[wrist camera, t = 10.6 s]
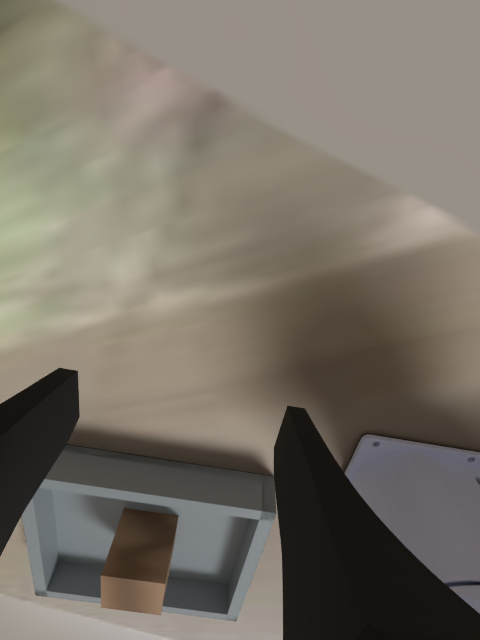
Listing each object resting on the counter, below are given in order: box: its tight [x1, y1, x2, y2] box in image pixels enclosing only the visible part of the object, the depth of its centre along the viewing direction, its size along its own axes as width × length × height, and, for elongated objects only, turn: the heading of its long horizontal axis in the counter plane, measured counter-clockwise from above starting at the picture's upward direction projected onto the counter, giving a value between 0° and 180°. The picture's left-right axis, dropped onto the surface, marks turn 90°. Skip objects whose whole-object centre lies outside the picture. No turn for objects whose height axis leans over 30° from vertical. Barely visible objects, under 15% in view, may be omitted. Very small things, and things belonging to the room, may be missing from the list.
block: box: [101, 508, 179, 615], centre depth 28 cm, size 4×4×5 cm
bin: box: [22, 445, 276, 621], centre depth 29 cm, size 18×16×3 cm
